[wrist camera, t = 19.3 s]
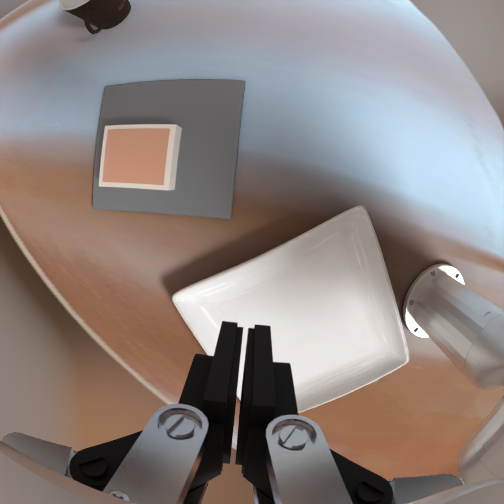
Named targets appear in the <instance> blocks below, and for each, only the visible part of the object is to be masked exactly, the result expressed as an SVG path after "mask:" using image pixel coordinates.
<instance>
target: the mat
mask: <svg viewBox="0 0 504 504" xmlns="http://www.w3.org/2000/svg"><path fill="white" fill-rule="evenodd" d="M244 88H245V81H239V80H214V79H187V80H162V81H148V82H137V83H128V84H120V85H112V86H105V90H104V95H103V101H102V107H101V113H100V119H99V127H98V134H97V143H96V153H95V165H94V180H93V209H101V210H118V211H134V212H149V213H162V214H175V215H188V216H200V217H211V218H222V219H231V214H232V203H233V192H234V182H235V171H236V161H237V151H238V142H239V132H240V123H241V114H242V105H243V97H244ZM137 124H175V125H178V126H179V127H181V128H182V131H181V138H180V146H179V154H178V163H177V172H176V181H175V190H169V191H167V190H154V189H139V188H121V187H100V186H99V175H100V163H101V154H102V145H103V137H104V130H105V126H111V125H137Z"/></svg>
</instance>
